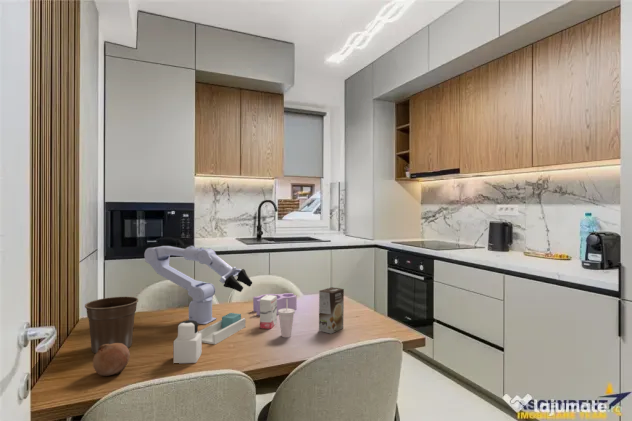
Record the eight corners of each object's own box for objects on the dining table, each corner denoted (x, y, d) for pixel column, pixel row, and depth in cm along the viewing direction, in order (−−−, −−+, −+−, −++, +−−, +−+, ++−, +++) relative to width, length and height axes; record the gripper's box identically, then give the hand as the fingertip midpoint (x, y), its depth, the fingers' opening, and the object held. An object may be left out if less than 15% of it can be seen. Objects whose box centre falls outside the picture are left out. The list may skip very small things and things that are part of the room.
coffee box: (331, 334, 136) (332, 293, 135) (318, 330, 139) (318, 290, 139) (344, 327, 143) (344, 288, 143) (330, 324, 147) (331, 286, 147)
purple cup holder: (290, 305, 177) (290, 291, 176) (299, 312, 165) (299, 297, 165) (251, 310, 168) (251, 295, 168) (258, 317, 157) (258, 302, 157)
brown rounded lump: (96, 387, 101) (78, 359, 99) (119, 364, 110) (102, 338, 108) (121, 379, 98) (103, 351, 96) (142, 357, 107) (126, 330, 105)
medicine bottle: (179, 354, 116) (179, 318, 116) (201, 353, 117) (201, 318, 117) (172, 364, 109) (173, 325, 109) (196, 363, 110) (196, 325, 110)
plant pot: (104, 338, 130) (104, 295, 130) (147, 339, 130) (147, 296, 130) (73, 357, 114) (72, 307, 114) (121, 357, 114) (121, 308, 114)
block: (230, 323, 145) (230, 312, 145) (240, 325, 143) (240, 314, 143) (221, 328, 139) (221, 316, 139) (232, 329, 138) (232, 318, 138)
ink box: (270, 329, 141) (270, 300, 141) (259, 328, 142) (259, 299, 142) (277, 322, 149) (277, 295, 149) (266, 321, 150) (266, 294, 150)
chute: (228, 324, 146) (228, 316, 146) (245, 326, 144) (245, 318, 144) (197, 341, 128) (197, 331, 128) (215, 344, 125) (215, 334, 125)
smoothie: (297, 333, 136) (297, 298, 136) (290, 339, 130) (290, 302, 130) (282, 331, 138) (282, 296, 138) (275, 337, 132) (275, 300, 132)
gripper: (216, 264, 141) (242, 284, 138) (235, 257, 154) (259, 275, 151) (209, 278, 142) (234, 298, 139) (228, 269, 156) (251, 287, 153)
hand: (246, 287), depth 146 cm, fingers open, 7 cm apart
